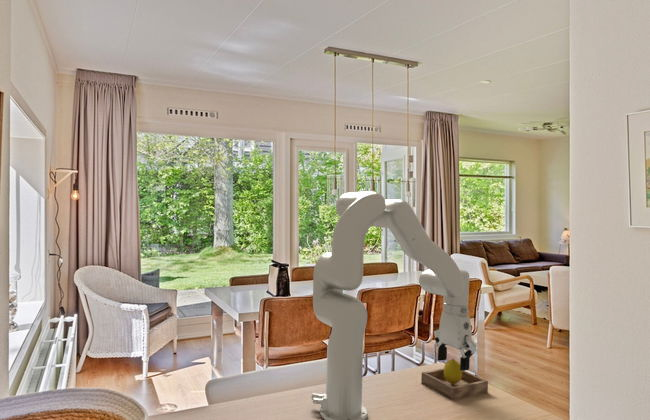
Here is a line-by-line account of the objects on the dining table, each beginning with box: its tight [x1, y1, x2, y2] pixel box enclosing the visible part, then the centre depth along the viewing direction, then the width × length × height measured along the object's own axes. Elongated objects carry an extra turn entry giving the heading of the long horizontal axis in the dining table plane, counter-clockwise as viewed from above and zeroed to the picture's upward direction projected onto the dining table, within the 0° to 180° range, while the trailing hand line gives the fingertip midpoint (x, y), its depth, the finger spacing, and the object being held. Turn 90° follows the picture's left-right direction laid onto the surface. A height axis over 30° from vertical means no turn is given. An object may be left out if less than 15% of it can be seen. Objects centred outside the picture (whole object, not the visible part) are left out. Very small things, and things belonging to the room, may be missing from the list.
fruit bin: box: [420, 367, 489, 401], centre depth 139 cm, size 14×14×4 cm
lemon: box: [443, 358, 462, 385], centre depth 139 cm, size 6×6×8 cm
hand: (453, 364), depth 138 cm, fingers open, 9 cm apart
